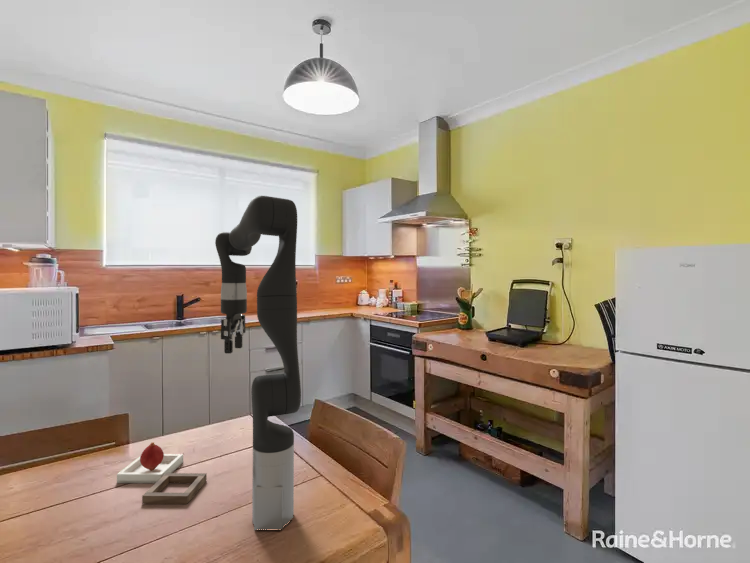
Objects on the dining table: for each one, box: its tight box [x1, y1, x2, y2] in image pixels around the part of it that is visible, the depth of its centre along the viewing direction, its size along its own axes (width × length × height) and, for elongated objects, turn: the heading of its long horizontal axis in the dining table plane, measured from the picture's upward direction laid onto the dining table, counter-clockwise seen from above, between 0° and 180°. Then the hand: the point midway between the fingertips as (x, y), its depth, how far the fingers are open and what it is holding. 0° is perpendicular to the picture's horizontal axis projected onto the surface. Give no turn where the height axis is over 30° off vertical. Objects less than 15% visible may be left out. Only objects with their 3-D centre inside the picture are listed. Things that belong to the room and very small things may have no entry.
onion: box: [139, 442, 165, 471], centre depth 111 cm, size 6×6×8 cm
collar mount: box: [141, 472, 208, 505], centre depth 101 cm, size 11×11×2 cm
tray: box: [116, 453, 184, 484], centre depth 111 cm, size 12×12×2 cm
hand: (233, 350), depth 120 cm, fingers open, 8 cm apart
